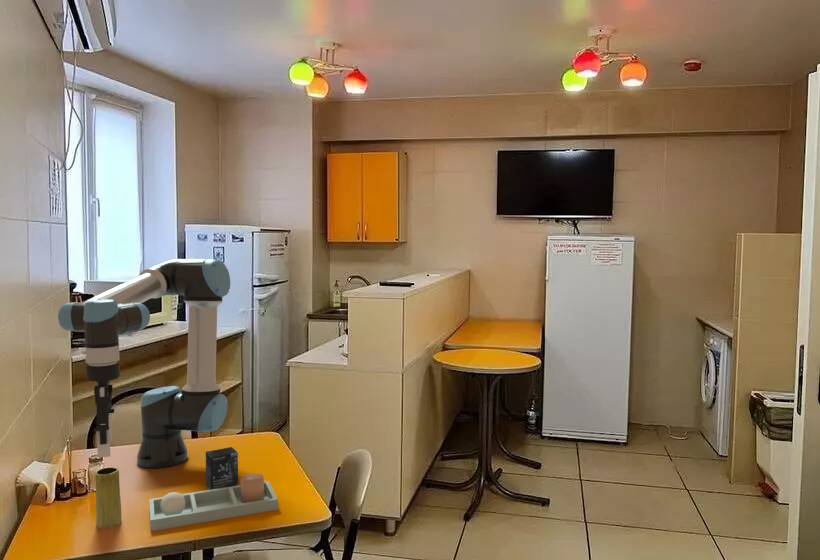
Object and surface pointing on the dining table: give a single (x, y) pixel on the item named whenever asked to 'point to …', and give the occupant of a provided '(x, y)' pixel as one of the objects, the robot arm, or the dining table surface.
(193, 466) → the dining table surface
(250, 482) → the pink pillar candle
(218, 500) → the tray
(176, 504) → the ball
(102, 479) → the vase
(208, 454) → the box
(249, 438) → the dining table surface
